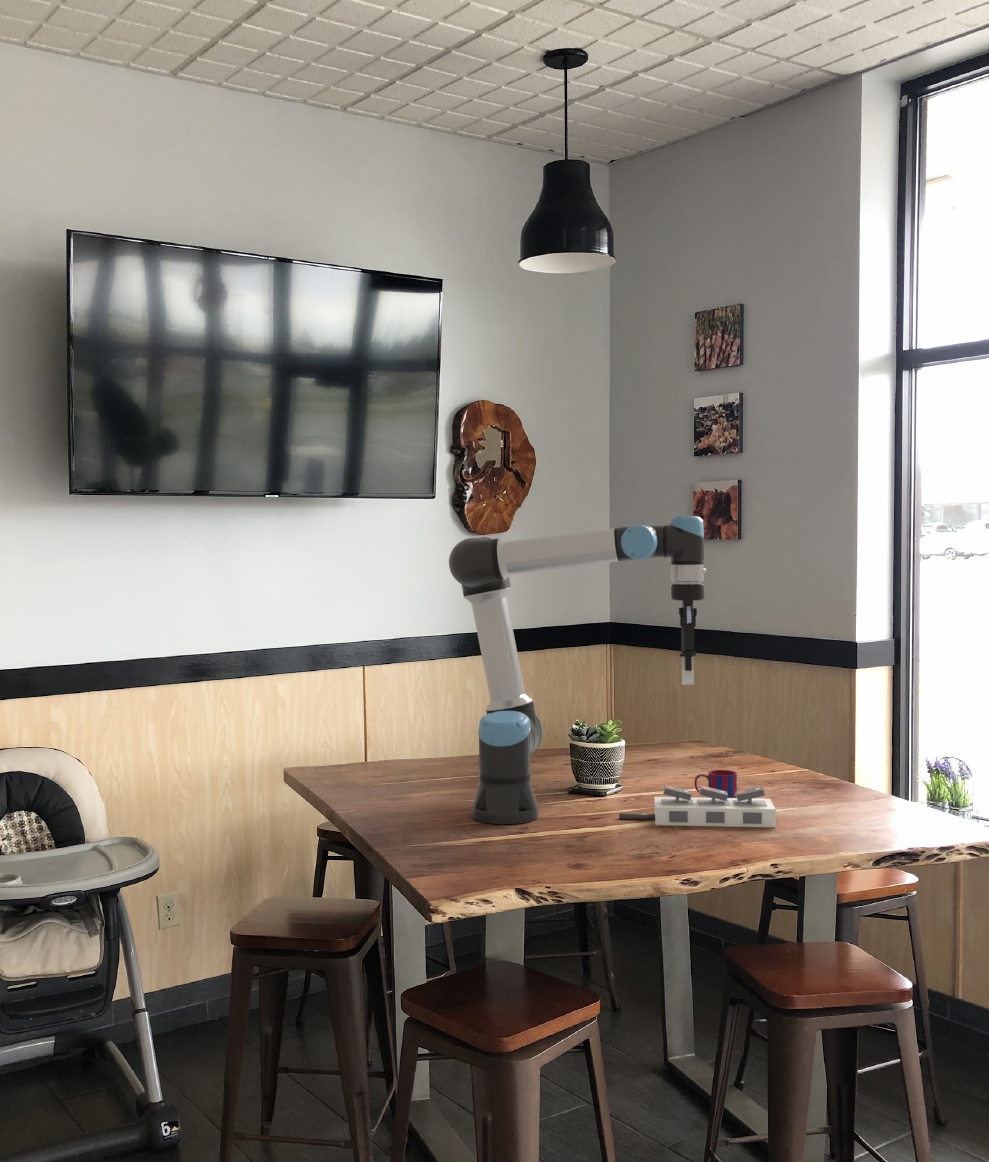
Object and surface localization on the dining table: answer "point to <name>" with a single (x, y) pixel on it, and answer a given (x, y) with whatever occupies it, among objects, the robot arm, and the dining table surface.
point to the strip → (710, 812)
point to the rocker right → (749, 793)
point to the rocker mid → (713, 793)
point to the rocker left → (677, 792)
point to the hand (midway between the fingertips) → (688, 684)
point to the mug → (721, 781)
